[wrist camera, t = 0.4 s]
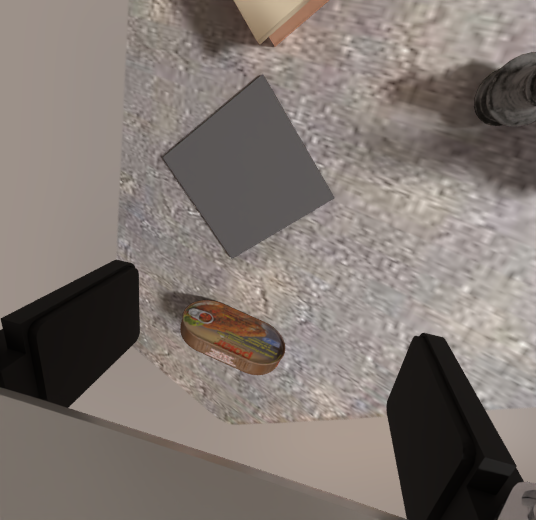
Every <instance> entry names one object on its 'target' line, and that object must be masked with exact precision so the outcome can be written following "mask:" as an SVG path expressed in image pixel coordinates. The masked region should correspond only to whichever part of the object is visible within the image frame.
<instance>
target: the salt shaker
mask: <svg viewBox="0 0 536 520" xmlns="http://www.w3.org/2000/svg"><path fill="white" fill-rule="evenodd" d="M474 108H475V111H476V114H477V116H478V117H479V119H480V120H482V121H483V122H484V123H486V124H489V125H494V126H501V125H506V126H513V127H518V126H523V125H528V124H530V123H533V122H535V121H536V52H531V53H527V54H523V55H520V56H518V57H516V58H514V59H512V60H511V61H509V62H508V63H507V64H505V65H504V66H503V67H502V68H501V69H499V70H497V71H495V72H493V73H492V74H491V75H489V76H488V77H487V78H486V79H485V80H484V81H483V82H482V84H481V85H480V87H479V89H478V90H477V93H476V96H475V100H474Z"/></svg>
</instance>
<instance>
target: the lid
mask: <svg viewBox="0 0 536 520" xmlns="http://www.w3.org/2000/svg"><path fill="white" fill-rule="evenodd" d="M309 1H310V0H234V2H235V3H236V5H237V7H238V9H239V11H240V12H241V14H242V16H243V18H244V19H245V21H246V23H247V25H248V26H249V28H250V30H251V32H252V33H253V35H254V37H255V39H256V40H257V42H258V43H259V45H260V44H261V43H262V42H263V41H265V40H266V39H267V38H268V37H269V36H270V35H271V34H273V33H274V32H275V31H276V30H277V29H278V28H279V27H281V26H282V25H283V24H284V23H285V22H286V21H287V20H288V19H290V18H291V17H292V16H293V15H294V14H295V13H296V12H298V11H299V10H300V9H301V8H302V7H303V6H304V5H305V4H307V3H308V2H309Z"/></svg>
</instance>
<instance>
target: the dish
mask: <svg viewBox="0 0 536 520" xmlns="http://www.w3.org/2000/svg"><path fill="white" fill-rule="evenodd" d="M328 1H329V0H310V1H309V2H308V3H307V4H305V5H304V6H303V7H302V8H301V9H300V10H299V11H298V12H296V13H295V14H294V15H293V16H292V17H291V18H290V19H288V20H287V21H286V22H285V23H284V24H283V25H282V26H281V27H279V28H278V29H277V30H276V31H275V32H274V33H273V34H271V35H270V36H269V38H270V40H271V41H272V43H273V45H274V46H277V45H278V44H279V43H280V42H281V41H282V40H284V39H285V38H286V37H287V36H288V35H289V34H291V33H292V32H293V31H294V30H295V29H296V28H298V27H299V26H300V25H301V24H302V23H303V22H305V21H306V20H307V19H308V18H309V17H310V16H312V15H313V14H314V13H315V12H316V11H317V10H319V9H320V8H321V7H322V6H323V5H324V4H326V3H327V2H328Z"/></svg>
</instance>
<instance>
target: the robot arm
mask: <svg viewBox="0 0 536 520" xmlns="http://www.w3.org/2000/svg"><path fill="white" fill-rule="evenodd" d="M1 322H2V327H3V329H2V330H0V520H536V483H531V482H524V481H523V479H522V477H521V475H520V474H519V472H518V470H517V469H516V464H515V462H514V460H513V459H512V457H511V455H510V453H509V452H508V450H507V448H506V446H505V445H504V443H503V441H502V439H501V437H500V436H499V434H498V432H497V431H496V429H495V427H494V425H493V423H492V421H491V420H490V418H489V416H488V414H487V413H486V411H485V409H484V407H483V406H482V404H481V402H480V400H479V398H478V397H477V395H476V393H475V391H474V390H473V388H472V386H471V384H470V382H469V381H468V379H467V377H466V375H465V374H464V372H463V370H462V368H461V367H460V365H459V363H458V361H457V359H456V358H455V356H454V354H453V352H452V351H451V349H450V347H449V345H448V343H447V342H446V340H445V339H444V338H443V337H439V336H435V335H431V334H427V333H422V334H421V335H420V336H414V337H413V339H412V341H411V344H410V346H409V349H408V351H407V354H406V356H405V359H404V361H403V364H402V366H401V368H400V371H399V373H398V376H397V378H396V381H395V383H394V386H393V388H392V391H391V393H390V396H389V398H388V401H387V416H388V422H389V426H390V432H391V437H392V443H393V448H394V453H395V459H396V464H397V469H398V474H399V479H400V485H401V490H402V496H403V501H404V506H405V511H406V516H407V519H404V518H402V517H399V516H396V515H393V514H390V513H387V512H384V511H381V510H378V509H376V508H373V507H370V506H367V505H364V504H361V503H359V502H355V501H353V500H350V499H347V498H343V497H341V496H337V495H334V494H332V493H328V492H326V491H322V490H320V489H316V488H313V487H310V486H307V485H304V484H301V483H298V482H295V481H292V480H289V479H286V478H283V477H280V476H277V475H274V474H271V473H268V472H265V471H262V470H259V469H256V468H253V467H250V466H247V465H244V464H241V463H238V462H235V461H231V460H228V459H225V458H222V457H219V456H216V455H213V454H210V453H207V452H204V451H201V450H198V449H194V448H191V447H188V446H185V445H182V444H179V443H176V442H173V441H170V440H166V439H163V438H160V437H157V436H154V435H151V434H148V433H144V432H142V431H139V430H135V429H132V428H129V427H126V426H123V425H120V424H117V423H114V422H110V421H107V420H104V419H101V418H98V417H95V416H92V415H88V414H85V413H82V412H79V411H75V410H73V409H69V408H68V407H69V406H70V405H71V404H72V403H73V402H75V400H76V399H78V398H79V397H80V396H81V395H82V394H83V393H84V392H85V391H86V390H87V389H88V388H89V387H90V386H91V385H92V384H93V383H94V382H95V381H96V380H97V379H98V378H99V377H100V376H101V375H102V374H103V373H104V372H105V371H106V370H107V369H108V368H109V367H110V366H111V365H112V364H114V363H115V361H117V360H118V359H119V358H120V357H121V356H122V355H123V354H124V353H125V352H126V351H127V350H128V349H129V348H130V347H131V346H132V345H133V344H134V343H135V342H136V341H137V339H138V337H139V334H140V319H139V273H138V270H137V269H136V268H135V266H134V264H132V263H128V262H124V261H120V260H114V261H112V262H110V263H108V264H106V265H104V266H102V267H100V268H99V269H97V270H94V271H93V272H91V273H89V274H87V275H85V276H83V277H81V278H79V279H77V280H75V281H73V282H71V283H69V284H67V285H65V286H63V287H61V288H59V289H57V290H55V291H53V292H52V293H50V294H48V295H46V296H44V297H42V298H40V299H38V300H36V301H34V302H32V303H30V304H28V305H26V306H24V307H22V308H21V309H18V310H16V311H15V312H13V313H11V314H9V315H7V316H5V317H3V318H1Z"/></svg>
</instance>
